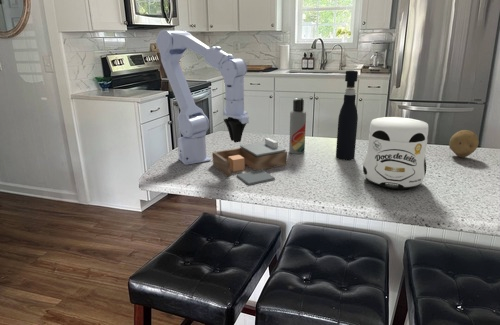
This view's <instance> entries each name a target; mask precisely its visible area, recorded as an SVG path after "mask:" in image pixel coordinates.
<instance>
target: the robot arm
mask: <svg viewBox="0 0 500 325" xmlns="http://www.w3.org/2000/svg"><path fill="white" fill-rule="evenodd" d="M155 44H156V47H157V50H158V51H159V55H160V61H161V64H162V67H163V69H164V70H163V71H164V72H165V75H166V77H167V79H168V81H169V85H170V87H171V89H172V90H171V91H172V92H173V95H174V98H175V100H176V103H177V105H178V108H179V110H180V111H179V114H178V115H177V117H176V119H177V122H178V129H179V133H181V135H182V136H181V137H178V138H177V150H178V151H177V152H178V158H177V159H178V160H180V162H182V164H183V165H184V166H187V165H193V164H194V165H195V164H199V163H204V162H209V161H212V159H211V158H210V157H209V156H207V155H208V154H207V140H206V134H207V132H208V130H209V128H210V120H209V118H208V116H207V115H206V114H205V113H204V110H203V109H202V108H201V107H199V106H197V105H196V103H195V99H194V97H193V95H192V92H191V89H190V87H189V84H188V81H187V79H186V76H185V74H184V72H183V69H182V66H181V63H180V60H181V58H182V57H183V55H184V54H185V53H186V51H187V50H190V51H192V52H193V53H195V54H197V55H200V56H201V57H203V58H204V62H205V63H206V64H208V65H209V66H211V67H212V68H214V69H215V70H217V71H219V72H220V74H221V76H222V77H223V83H224V85H225V86H224V88H225V89H224V90H225V95H224V96H225V108H224V109H222V116H225V117H227V118H224V119H223V122H224V123H225V125H226V128H227V131H228V133H229V138H230V140H231V141H232V142H234V143H241V141H242V136H243V132H244V129H245V128H246V126H247V124H249V123H250V122H249V118H250V117H249V116H248V111H246V110H245V84H244V83H245V81H244V78H245V77H244V76H246V75H247V73H248V64H247V62H246V61H245V60H244V59H243V58H242V57H234V55H233V54H231V53H227V52H225V51H224V50H222V47H221V46H218V45H217V46H212V47H210V46H208V45H207V44H205V43H204V42H202V41H201V40H199V38H196V37H195V36H194V35H192V34H191V33H190V32H188V31H186V29H185V30H184V29H178V30H174V29H173V30H167V29H162V30H160V31H159V32H158V34H157V37H156V40H155Z"/></svg>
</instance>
